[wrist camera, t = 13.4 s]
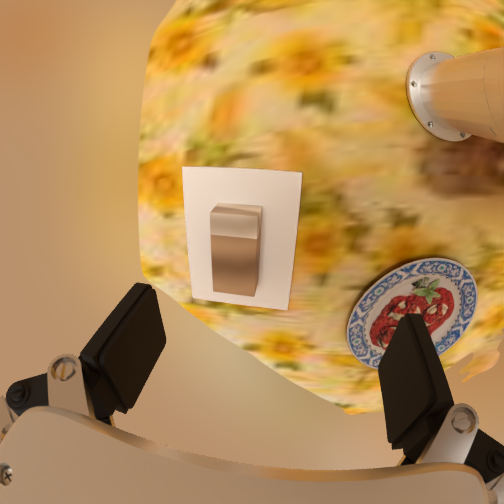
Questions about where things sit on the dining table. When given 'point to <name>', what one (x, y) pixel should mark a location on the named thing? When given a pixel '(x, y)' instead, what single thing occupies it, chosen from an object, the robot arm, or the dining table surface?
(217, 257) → the brown and beige box
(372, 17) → the dining table surface
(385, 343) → the ceramic plate
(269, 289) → the white rectangular board
